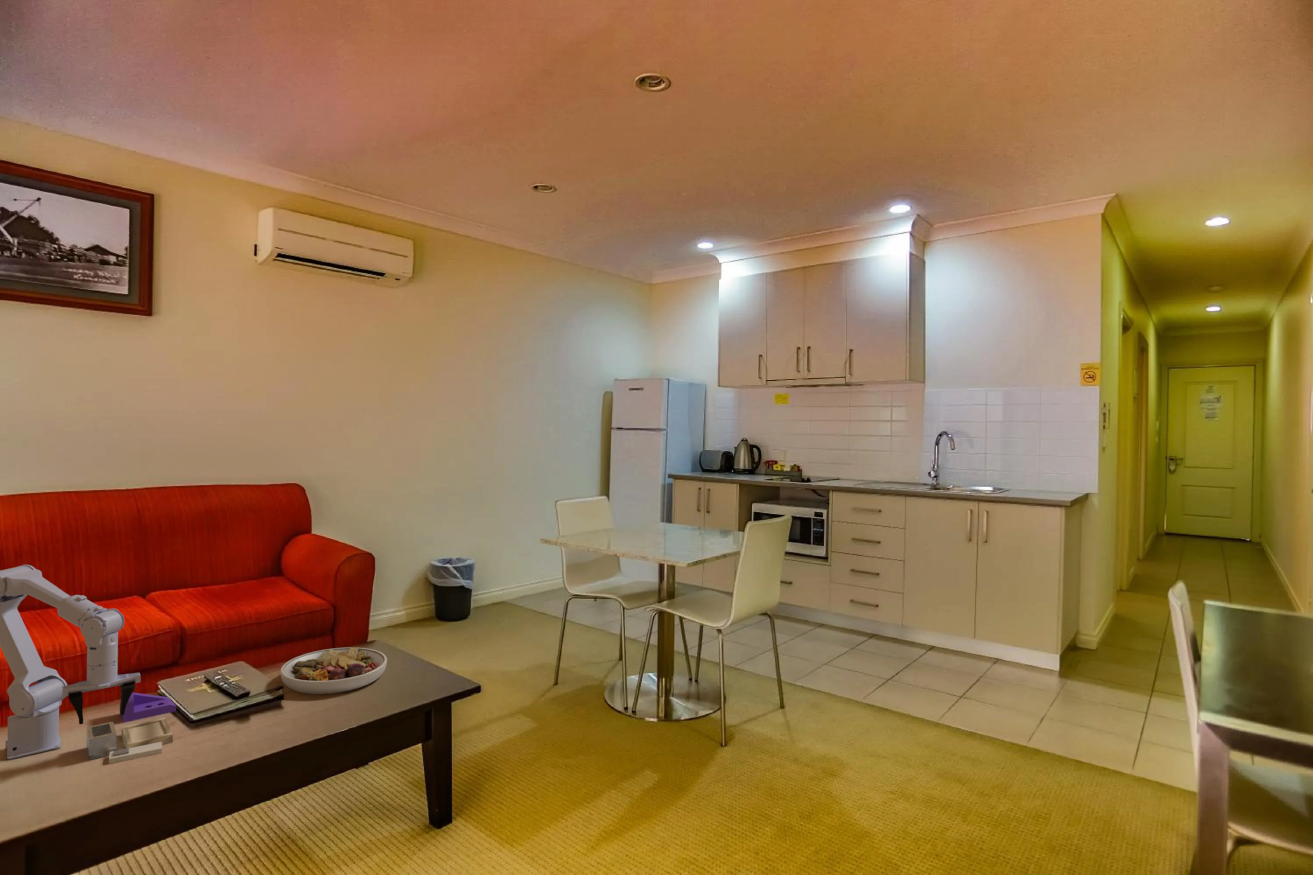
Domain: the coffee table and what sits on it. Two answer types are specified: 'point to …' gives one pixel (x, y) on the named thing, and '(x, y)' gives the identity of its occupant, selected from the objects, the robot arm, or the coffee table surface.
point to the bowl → (333, 670)
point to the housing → (101, 740)
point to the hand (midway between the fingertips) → (101, 718)
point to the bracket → (146, 706)
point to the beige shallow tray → (147, 733)
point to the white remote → (135, 752)
